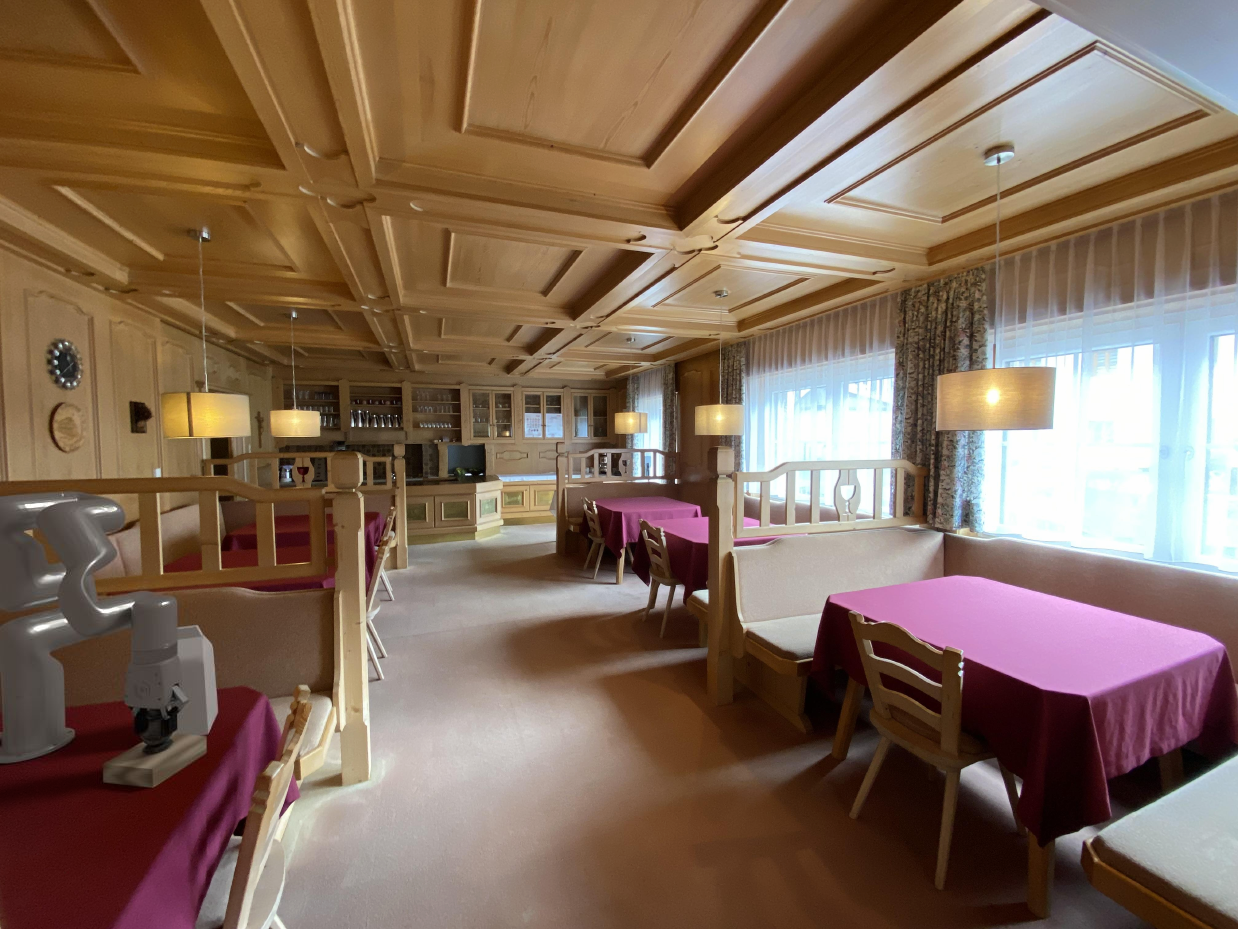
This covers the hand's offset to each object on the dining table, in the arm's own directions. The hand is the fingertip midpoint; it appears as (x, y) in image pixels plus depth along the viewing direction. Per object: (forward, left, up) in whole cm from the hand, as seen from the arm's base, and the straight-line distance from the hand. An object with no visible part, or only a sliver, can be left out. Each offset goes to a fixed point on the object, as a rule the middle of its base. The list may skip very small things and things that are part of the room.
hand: (156, 731), depth 111 cm
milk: (-9, +14, -8) cm, 19 cm away
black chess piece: (0, 0, -4) cm, 4 cm away
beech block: (0, 0, -8) cm, 8 cm away
